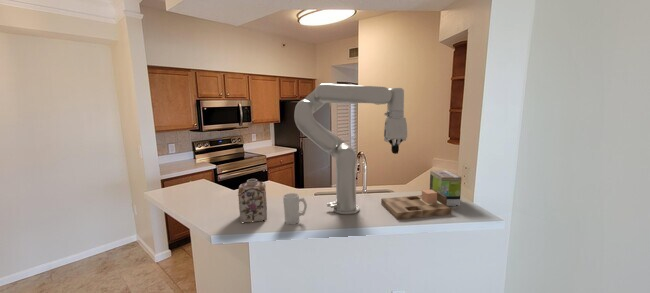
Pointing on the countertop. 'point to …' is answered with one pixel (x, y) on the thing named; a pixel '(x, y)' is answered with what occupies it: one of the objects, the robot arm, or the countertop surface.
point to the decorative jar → (252, 201)
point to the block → (429, 196)
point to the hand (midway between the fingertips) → (395, 153)
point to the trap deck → (416, 206)
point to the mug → (293, 208)
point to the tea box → (446, 185)
